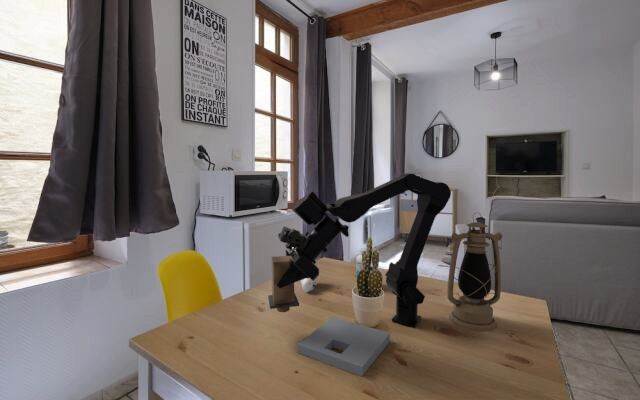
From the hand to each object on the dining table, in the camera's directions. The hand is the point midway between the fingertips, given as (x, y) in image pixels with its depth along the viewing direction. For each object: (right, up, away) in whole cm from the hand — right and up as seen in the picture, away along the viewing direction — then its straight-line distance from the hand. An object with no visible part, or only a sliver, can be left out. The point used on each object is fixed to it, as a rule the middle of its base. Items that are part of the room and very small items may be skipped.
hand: (277, 283), depth 80 cm
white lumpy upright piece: (+6, -11, +34) cm, 36 cm away
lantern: (+53, -13, +9) cm, 55 cm away
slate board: (+16, -14, -5) cm, 22 cm away
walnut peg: (+1, -7, +1) cm, 7 cm away
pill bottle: (+27, -10, +35) cm, 45 cm away
